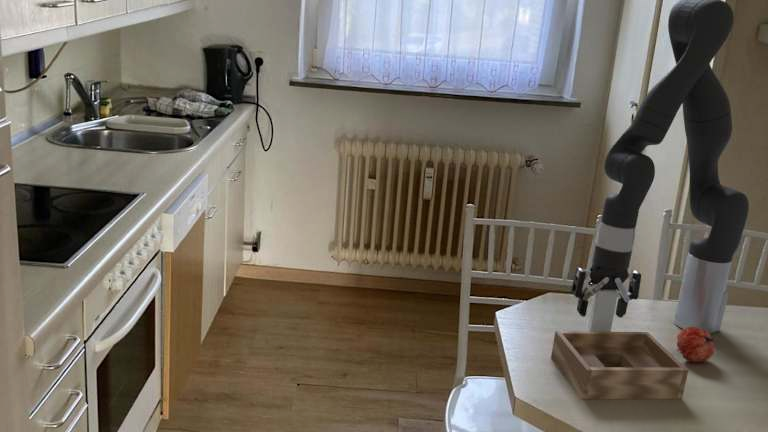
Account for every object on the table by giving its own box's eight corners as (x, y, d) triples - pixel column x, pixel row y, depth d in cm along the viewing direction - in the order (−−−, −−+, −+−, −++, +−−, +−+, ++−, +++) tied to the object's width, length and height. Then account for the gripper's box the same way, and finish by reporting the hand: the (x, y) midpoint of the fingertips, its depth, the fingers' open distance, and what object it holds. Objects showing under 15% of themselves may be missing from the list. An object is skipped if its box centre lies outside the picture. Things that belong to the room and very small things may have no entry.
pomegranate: (666, 365, 164) (699, 357, 155) (661, 331, 166) (693, 321, 158) (694, 367, 166) (728, 358, 158) (689, 333, 169) (722, 323, 160)
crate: (642, 358, 161) (647, 332, 159) (682, 398, 146) (688, 370, 144) (550, 357, 158) (555, 331, 156) (581, 399, 143) (587, 369, 141)
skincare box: (608, 346, 165) (618, 294, 162) (588, 343, 166) (597, 291, 163) (606, 334, 171) (615, 284, 168) (586, 331, 172) (595, 281, 168)
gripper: (637, 240, 167) (623, 309, 172) (575, 236, 164) (562, 307, 169) (654, 251, 160) (639, 324, 164) (589, 248, 157) (575, 322, 162)
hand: (600, 315), depth 167 cm, fingers open, 8 cm apart
